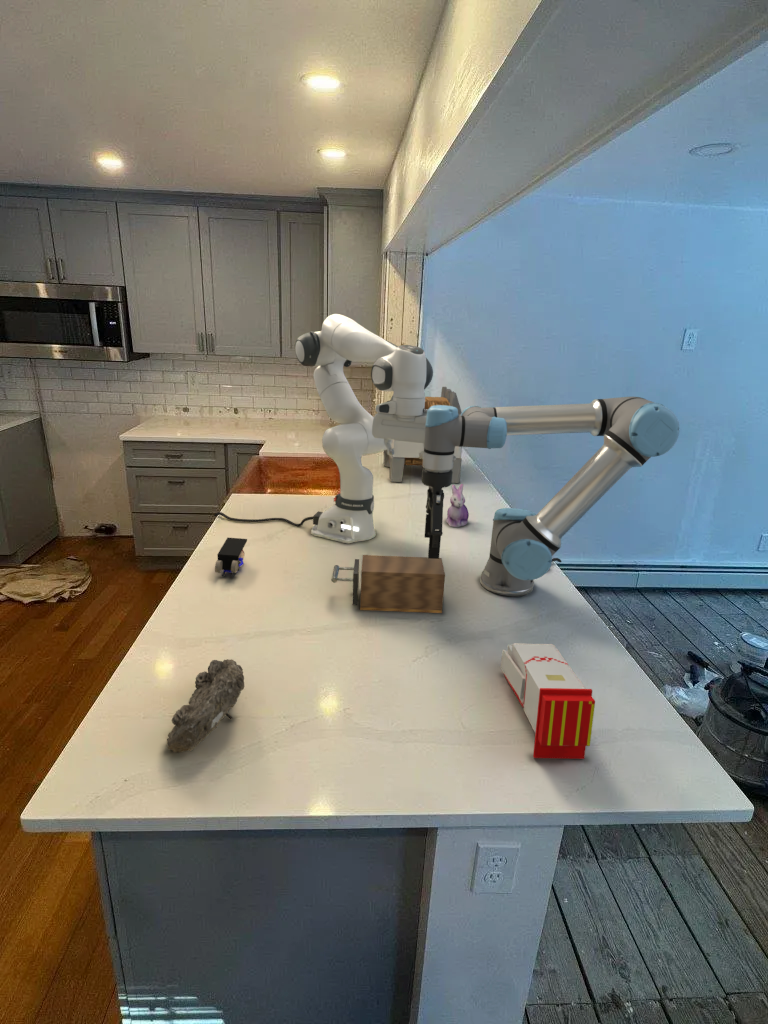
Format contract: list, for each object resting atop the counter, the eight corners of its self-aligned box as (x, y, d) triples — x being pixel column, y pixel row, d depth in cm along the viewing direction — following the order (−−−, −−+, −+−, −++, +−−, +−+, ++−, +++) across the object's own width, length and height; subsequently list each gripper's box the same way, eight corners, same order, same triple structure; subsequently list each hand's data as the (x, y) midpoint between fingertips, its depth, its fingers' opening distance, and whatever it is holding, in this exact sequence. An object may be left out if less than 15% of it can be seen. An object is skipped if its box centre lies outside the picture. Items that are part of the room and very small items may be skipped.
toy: (549, 626, 126) (605, 697, 97) (544, 681, 129) (596, 766, 100) (495, 625, 126) (534, 696, 96) (491, 680, 128) (528, 765, 99)
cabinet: (360, 609, 149) (361, 571, 145) (361, 591, 158) (362, 554, 155) (441, 613, 149) (445, 574, 145) (438, 594, 159) (441, 557, 155)
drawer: (330, 604, 149) (331, 572, 146) (333, 587, 157) (334, 558, 154) (428, 607, 149) (431, 576, 146) (426, 591, 158) (428, 561, 155)
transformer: (382, 463, 289) (386, 382, 275) (445, 464, 293) (451, 384, 279) (390, 482, 257) (394, 392, 243) (460, 483, 261) (468, 394, 247)
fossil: (192, 660, 117) (244, 628, 112) (224, 691, 120) (276, 661, 115) (142, 746, 98) (202, 712, 93) (182, 779, 101) (242, 748, 96)
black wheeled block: (238, 584, 162) (249, 557, 175) (236, 562, 158) (247, 536, 172) (215, 584, 161) (227, 556, 175) (212, 561, 158) (225, 535, 171)
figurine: (454, 529, 206) (457, 490, 201) (439, 520, 214) (442, 482, 209) (475, 526, 210) (479, 487, 205) (459, 517, 218) (463, 479, 213)
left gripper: (448, 409, 155) (444, 458, 159) (379, 402, 162) (377, 450, 166) (441, 412, 149) (438, 463, 154) (370, 405, 156) (369, 454, 161)
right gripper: (458, 484, 129) (450, 568, 136) (447, 457, 153) (441, 530, 160) (426, 482, 129) (419, 567, 136) (419, 455, 153) (414, 529, 160)
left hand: (406, 456), depth 160 cm, fingers open, 8 cm apart
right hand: (431, 547), depth 148 cm, fingers open, 13 cm apart
